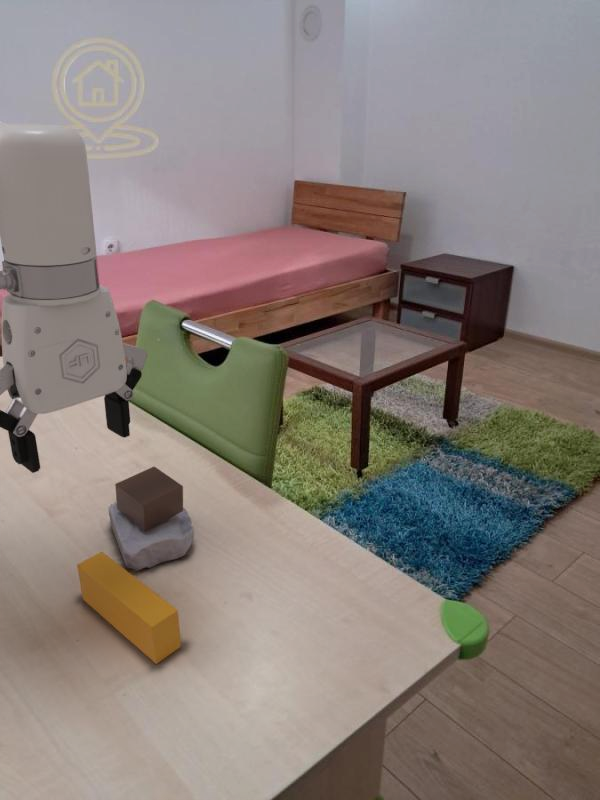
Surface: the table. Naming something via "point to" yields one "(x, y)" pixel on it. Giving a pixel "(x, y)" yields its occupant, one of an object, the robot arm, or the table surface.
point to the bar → (130, 606)
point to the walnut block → (149, 498)
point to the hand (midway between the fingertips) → (76, 448)
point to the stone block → (151, 539)
